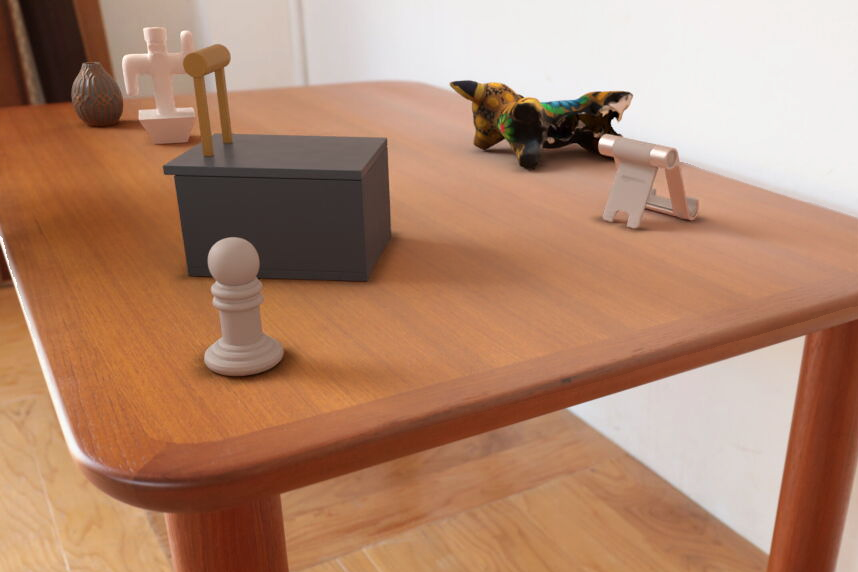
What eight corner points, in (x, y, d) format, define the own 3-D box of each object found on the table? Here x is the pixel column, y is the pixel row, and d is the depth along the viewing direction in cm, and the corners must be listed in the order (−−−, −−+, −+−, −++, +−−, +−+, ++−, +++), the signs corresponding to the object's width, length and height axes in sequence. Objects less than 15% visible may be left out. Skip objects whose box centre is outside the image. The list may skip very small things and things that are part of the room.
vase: (102, 130, 130) (91, 67, 126) (66, 126, 132) (54, 64, 128) (136, 121, 136) (127, 61, 132) (101, 117, 138) (90, 58, 134)
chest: (188, 276, 77) (173, 175, 74) (235, 231, 89) (224, 142, 85) (367, 281, 77) (361, 180, 73) (391, 235, 88) (387, 146, 84)
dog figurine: (625, 189, 120) (549, 151, 133) (652, 97, 116) (570, 67, 129) (505, 178, 109) (434, 138, 121) (529, 75, 104) (453, 45, 117)
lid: (163, 175, 74) (145, 57, 70) (216, 141, 85) (203, 38, 81) (361, 180, 73) (355, 62, 69) (387, 145, 84) (383, 42, 81)
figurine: (134, 136, 127) (116, 24, 120) (204, 132, 130) (190, 23, 123) (134, 147, 120) (114, 30, 114) (207, 143, 123) (192, 28, 117)
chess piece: (296, 366, 62) (284, 242, 58) (220, 385, 59) (202, 257, 55) (267, 339, 66) (254, 221, 62) (194, 356, 63) (176, 234, 59)
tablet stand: (697, 219, 95) (706, 140, 91) (652, 234, 90) (659, 151, 86) (633, 202, 100) (639, 126, 97) (587, 215, 95) (591, 136, 92)
